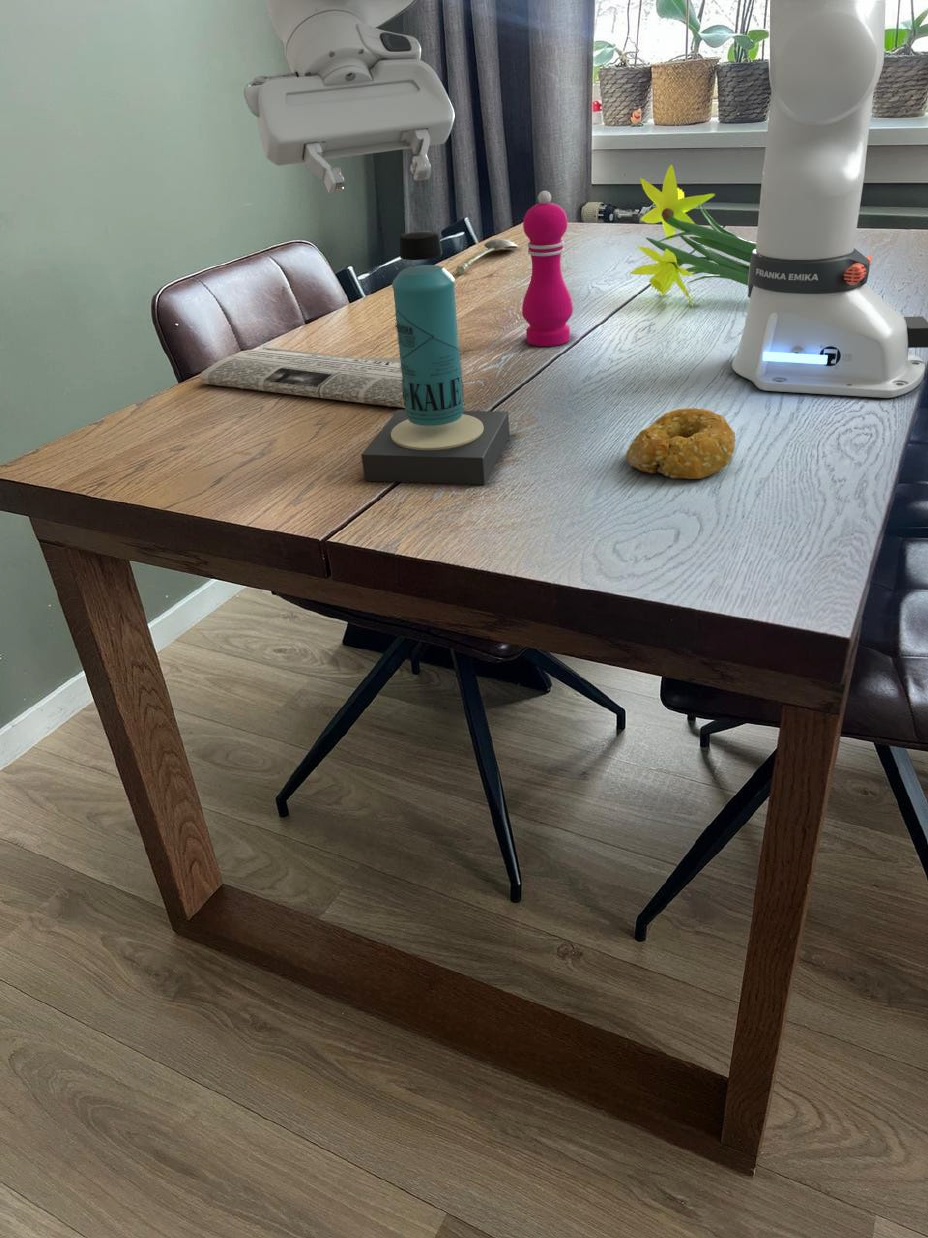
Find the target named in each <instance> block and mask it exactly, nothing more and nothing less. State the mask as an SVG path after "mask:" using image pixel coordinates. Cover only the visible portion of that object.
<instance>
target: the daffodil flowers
mask: <svg viewBox="0 0 928 1238" xmlns="http://www.w3.org/2000/svg"><path fill="white" fill-rule="evenodd" d="M676 177H677V176H676V174H675V169H674V166H673V164H671V163H670V165H669V166H668V168H667V171H666V173H665V176H664V180H663V182H662V188H661V189H662V191H661V190H659V189H658V188H656V187H655V186H654V185H653V184H652V183H650V182H649V181H647V180H646V179H645V178H642V177H639V180H640V183H641V187H642V190H643V191H644V193H645V194H646V196H647V197H648V198H649V200H651V202H652V203H653V204H654V205H655V206H656V207H653V208H652V209H651V210H649V211H647V212H646V213H645V214H644V215H642V217H640V221H642V222H644V223H647V224H657V223H661V222H662V227H663V231H664V234H665V237H664V238H662V239H660V240H656V239H653V238H650V237H645V240H647V241H648V242H649V243H651V244H652V245H653V246H655V247H656V248H657V249H659V250H660V251H662V252H663V254H661V253H659V252H658V251H656V250H654V249H652V248H650V247H644V246H639V245H636V247H637V249H639V250H640V251H641V252H642V253H644V254H645V255H646V256H647V257H649V258H650V259H651V260H653V261H654V262H655V263H654V264H644V265H641V266H638V267H636V268H635V269H633V270H632V271H631V272H629V274H630V275H640V276H641V275H642V276H652V277H650V278H649V279H648V283H649V285H651V288H653V289H654V291H656V292H659V293H660V296H661V297H663V296H664V295H665V294H666V293H667V292H668V291H669V290H670V289H671V288H672V287H673V285H674V284H676V285H677V286H678V288H679V289H680V290H681V291H682V293H683V294H685V296H686V298H688V301H689V304H690V305H691V306H692V307H694V304H693V301H692V299H691V296H690V295H689V292H688V289H687V288H686V285H685V283H684V282H683V280H682V278H681V276H683V277H695V275H698V274H703V273H705V274H709V275H703V276H700V277H697V278H694V279H693V280H690V281H688V282H687V284H691V283H693V282H696V281H699V280H703V279H711V278H715V279H716V278H719V279H726V280H731V281H734V282H736V283H739V284H743V285H745V286H747V287H748V276H749V267H750V262H751V256H752V252H753V250H755V249H756V242H754V241H751V240H747V239H743V238H742V237H739V236H737V235H736V234H734V233H733V232H731V231H729V230H727V229H726V228H724V227H722V226H721V225H720V224H719V223H718V222H716V221H715V220H714V219H713V217H711V215H710V214H709V212H708V211H707V210H706V208H705V207H704V206H703V204H704V203H705V202H707V201H709V200H711V199H712V198H713V197H715V196H716V193H707V194H700V195H692V196H687V197H685V191H683V189H682V188H681V189H680V187H678V183H677V178H676ZM697 207H698V208H699V209H700V212H701V214H702V215H703V218H704V219H705V220H706V222H707V224H709V226H710V227H707V226H703V225H701V224H696V223H695V221H694V220H693V219H692V218H691V217H690V216H689V215H688V214H687V212H690V211H692V210H693V209H695V208H697ZM676 230H679V231H682V232H680V233H676ZM675 233H676V234H675ZM690 235H691V236H690ZM687 236H689V237H687ZM678 237H679V238H681V240H682V241H684V242H685V243H686V244H687V245H688V246H690V247H691V248H692V249H693V250H695V251H696V252H698V253H699V254H701V255H702V256H698V255H695V254H692V253H690V252H688V251H685V250H682V249H680V248H677V247H674V246H672V245H669V244H667V243H664V241H666V240H667V242H670V241H671V240H672V239H673V238H678ZM709 248H710V249H709ZM711 249H713V250H716V251H719V252H722V253H724V254H726V255H728V256H731V257H733V258H736V259H738V260H741V261H744V262H746V263H748V264H746V263H743V262H741V261H738V260H736V259H732V258H730V257H728V256H724V255H723V254H720V253H719V252H718V253H717V252H716V251H713V250H711ZM683 265H690V266H691V267H687V268H684V267H682V266H683Z"/></svg>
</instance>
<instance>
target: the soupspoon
mask: <svg viewBox="0 0 928 1238" xmlns="http://www.w3.org/2000/svg"><path fill="white" fill-rule="evenodd" d="M483 247H485V248H486V249H484V250H483V251H481V252H480V253H478V254H477V255H475V256H474V257H472V258H471V259H470V260H468V261H465V262H464V263H463V264H461V265H457V266H456V268H455V271H456V272H457V274H459V275H460V276H461V275H462V276H463V275H464V274H465V272H466V269H467V268H468V267H469V266H470V265H471V264H472V263H474V262H476V261H478V259H480V258H482V257H483V256H485V255H487V254H490V253H491V252H494V251H497V250H501V249H508V250H509V249H517V248H519V246H518V244H516V243H515V242H513V241H511V240H509V239H505V238H494V239H490V240H489V241H486V242H485V243H484V244H483Z"/></svg>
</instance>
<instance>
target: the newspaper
mask: <svg viewBox="0 0 928 1238" xmlns="http://www.w3.org/2000/svg"><path fill="white" fill-rule="evenodd" d="M460 361H462V358H461V357H460ZM400 363H401V361H400V357H351V356H344V355H343V356H342V355H333V354H325V353H316V352H308V351H299V350H292V349H291V350H290V349H281V348H272V347H265V346H264V347H263V348H262V349H261V348H260V349H258V350H255V349H246V350H241V351H239V352H237V353H234V354H232V355H229V356H227V357H224V358H223V359H220V360H217V361H216V362H215V363H213V364H212V365H210V366H208V367H207V368H206V369H204V370H202V371H201V373H200V376H199V379H200V381H201V384H205V385H213V386H214V385H215V386H222V387H231V388H237V389H238V388H239V389H247V390H255V391H261V392H262V391H263V392H271V393H278V394H279V393H280V394H288V395H295V396H304V397H311V398H320V399H326V400H327V399H329V400H337V401H343V402H344V401H345V402H351V403H352V402H353V403H361V404H369V405H375V406H376V405H377V406H384V407H394V408H401V409H404V408H405V405H404V402H403V401H405V400H403V394H402V390H403V381H402V370H400V369H401V368H400V366H401V364H400ZM399 365H400V366H399ZM401 384H402V385H401ZM405 409H406V408H405Z"/></svg>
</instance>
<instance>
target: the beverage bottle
mask: <svg viewBox="0 0 928 1238" xmlns="http://www.w3.org/2000/svg"><path fill="white" fill-rule="evenodd" d="M442 255H443V248H442V244H441V236H440V233H439V232H437V231H434V230H418V231H417V230H416V231H410V232H406V233H403V234H401V235H400V236H399V258H400V259H402V260H405V261H423V260H424V261H425V260H430V259H435V258H438V257H441V256H442ZM455 283H456V279H455V277H454V276H453V275H452V274H451V273H450V272H449V271H448V270H447V269H445V268H444V267H443V266H440V265H438V264H437V265H435V264H421V265H413V266H409V267H405V268H403V269H402V270H401V271H399V273H398V274H397V276H396V277H394V279H393V281H392V283H391V287H392V290H393V299H394V300H393V301H394V309H395V311H394V312H395V313H394V315H393V317H394V318H393V319H394V320H395V322H394V328H395V331H396V334H397V335H396V343H397V345H398V353H399V358H400V361H401V363H400V364H401V366H400V365H399V366H400V368H401V369H400V370H402V381H403V390H402V394H403V400H405V401H403V402H404V405H405V408H403V410H405V411H406V415H407V418H408V420H409V421H410V422H411V423H413V424H416V425H422V426H437V425H444V424H448V423H451V422H454V421H456V420H458V419H459V418H461V416H462V414H463V411H465V407H464V406H466V405H465V404H466V403H465V399H464V397H465V394H464V393H465V392H464V391H465V390H464V386H463V384H464V382H463V375H464V373H463V370H462V360H460V358H461V355H462V354H461V353H462V350H460V345H459V344H460V343H459V331H458V320H457V319H458V318H457V317H458V316H457V303H456V302H457V301H456V288H455V285H456V284H455ZM401 385H402V384H401Z"/></svg>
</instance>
